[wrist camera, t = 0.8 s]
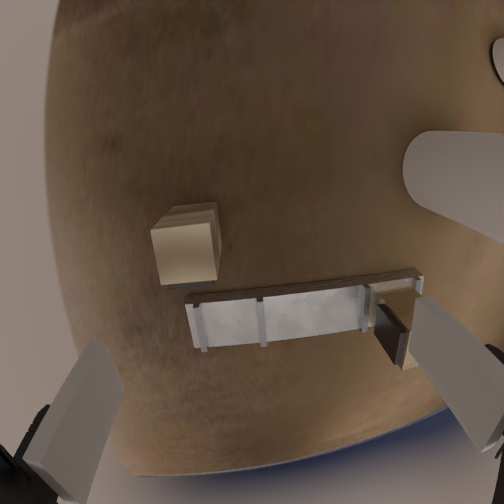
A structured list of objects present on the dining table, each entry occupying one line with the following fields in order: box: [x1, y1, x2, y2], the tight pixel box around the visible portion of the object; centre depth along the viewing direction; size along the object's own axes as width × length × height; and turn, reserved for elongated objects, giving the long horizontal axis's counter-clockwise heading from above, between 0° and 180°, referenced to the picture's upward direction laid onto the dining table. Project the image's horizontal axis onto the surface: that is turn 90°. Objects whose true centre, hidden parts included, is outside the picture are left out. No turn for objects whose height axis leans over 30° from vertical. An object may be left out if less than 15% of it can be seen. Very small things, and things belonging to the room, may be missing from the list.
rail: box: [185, 268, 424, 370], centre depth 27 cm, size 5×24×10 cm, turn 95°
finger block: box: [150, 201, 222, 289], centre depth 25 cm, size 5×4×8 cm
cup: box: [403, 131, 504, 244], centre depth 20 cm, size 8×8×16 cm
